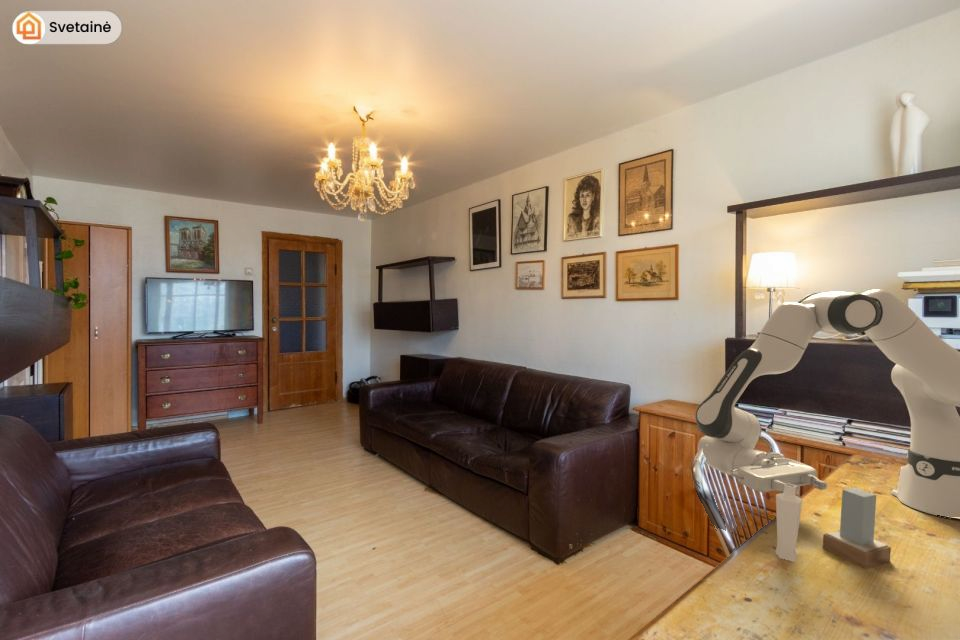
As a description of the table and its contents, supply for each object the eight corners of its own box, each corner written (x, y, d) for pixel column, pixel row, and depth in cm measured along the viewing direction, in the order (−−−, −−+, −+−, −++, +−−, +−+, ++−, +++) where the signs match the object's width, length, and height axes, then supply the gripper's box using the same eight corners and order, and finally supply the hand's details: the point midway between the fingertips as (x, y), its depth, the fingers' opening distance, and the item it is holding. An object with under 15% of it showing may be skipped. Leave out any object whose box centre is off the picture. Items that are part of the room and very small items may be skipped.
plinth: (846, 541, 100) (847, 527, 100) (889, 561, 93) (890, 545, 92) (822, 547, 97) (823, 532, 97) (865, 568, 90) (866, 552, 90)
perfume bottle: (804, 564, 91) (808, 490, 90) (780, 561, 92) (784, 488, 91) (793, 551, 95) (797, 482, 95) (770, 549, 96) (774, 479, 95)
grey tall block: (851, 532, 97) (854, 487, 97) (873, 542, 94) (876, 494, 93) (839, 535, 96) (842, 489, 96) (861, 545, 92) (864, 497, 92)
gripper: (726, 459, 112) (780, 480, 99) (782, 452, 120) (840, 470, 107) (724, 484, 113) (778, 508, 100) (781, 475, 120) (838, 497, 107)
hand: (811, 488), depth 103 cm, fingers open, 8 cm apart
